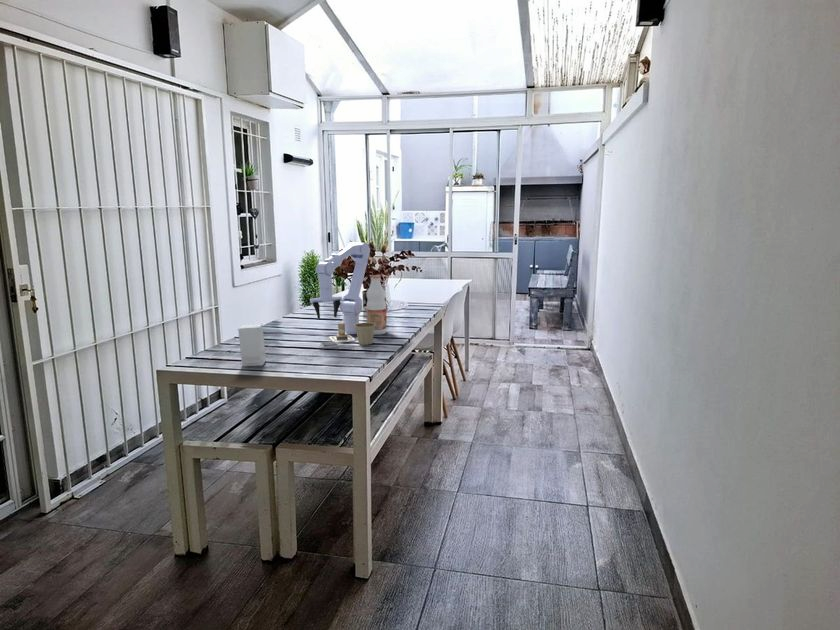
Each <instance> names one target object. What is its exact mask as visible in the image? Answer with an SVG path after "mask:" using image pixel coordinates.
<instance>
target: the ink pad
mask: <svg viewBox="0 0 840 630" xmlns="http://www.w3.org/2000/svg"><path fill="white" fill-rule="evenodd" d="M320 346H321V347H322V348H323V349H332V348H339V343H336V342H335V341H323V342H320Z"/></svg>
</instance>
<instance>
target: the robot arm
mask: <svg viewBox="0 0 840 630" xmlns="http://www.w3.org/2000/svg"><path fill="white" fill-rule="evenodd" d="M370 248H371V247H370V245H369V244H368V242H353V241H350V242H349V243H346V245H345V247H344V248H343V249H342V250H341V251H339V252H338V253H331V254H330V256H329V257H328V258H325V259H324V261H319V262H318V263H316V267H315V272H316V274H317V279H318V284H319V285H318V287H319V297H314V298H310V299H309V303H310V304H312V306H313V308H314V310H315V312H316V316H317V319H319V320H320V319H321V312H320V309H321V307H320V303H330V302H332V304H333V317H334V318H337V317H338V316H337V315H338V311H339V310H340V312H341V313H342V315H343V316H342V323H345V333H347V335H353V334H357V330H356V327H355V326H354V325H355V324H358V323H360V320H359V319H360V316H359V315H361V312H362V311H363V299H362V298H361V296H360V293H361V289H362V286H363V281H364V278H365V273H366V271H367V270H366V269H367V265H368V261H369V258H370V257H369V256H370V253H371V249H370ZM348 257H350V258H351V259H352V261H354V262H355V263H354V264H355V265H354V269H353V272H352V277H351V281H350V285H349V289H348V293H347V294H345V295H344V296H333V276H332V275H333V274H334V272H335V270H336V268H338V267H339V266H341V265H342V263H343V260H345V259H347V258H348Z"/></svg>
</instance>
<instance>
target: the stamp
mask: <svg viewBox="0 0 840 630" xmlns="http://www.w3.org/2000/svg"><path fill="white" fill-rule="evenodd" d="M337 325H338V326H337V327H338V329H337V331H338V332H337V333H336V335H335V336H336V338H337V340H344V339H348V336H347V335H348V334H347V333H345V323H343V322H338V323H337Z"/></svg>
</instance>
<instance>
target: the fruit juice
mask: <svg viewBox="0 0 840 630" xmlns="http://www.w3.org/2000/svg"><path fill="white" fill-rule="evenodd" d="M369 278H370V283H369V284H370V286H369V288H368V289H367V290H366V299H367V302H366V323H374V324H376V325H375V328H374V334H373V336H376V335H377V336H378V335H385V334H386V333H387V329H388V328H387V326H388V325H387V303H386V300H385V299H386V290H385V288H383V286H382V283H381V278H382V276H381V275H380V274H372V275H370V276H369Z"/></svg>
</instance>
